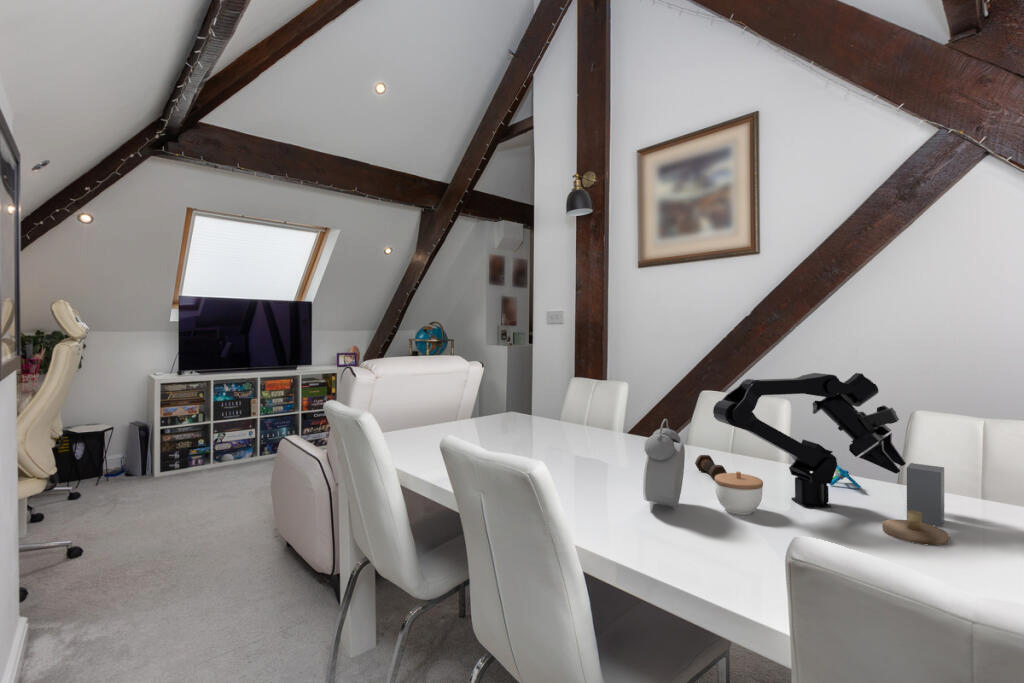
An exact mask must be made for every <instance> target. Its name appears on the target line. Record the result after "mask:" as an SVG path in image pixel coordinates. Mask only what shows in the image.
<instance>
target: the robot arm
mask: <svg viewBox="0 0 1024 683" xmlns="http://www.w3.org/2000/svg"><path fill="white" fill-rule="evenodd" d="M878 394H879V387H878V386H877V385H876V383H874V382H873V381H872V380H871V379H869V378H868V377H867V376H865V375H864V374H863V373H859V372H855V373H854V374H853V375H851V377H850V378H848V379H847V380H845V381H844V382H843V381H841V380H840V379H839V378H838V376H837V375H835V374H829V373H819V372H813V373H808V374H803V375H800V376H798V377H794V378H768V379H767V378H765V379H753V378H752V379H751V378H748V379H747V378H746V379H745V380H743V381H741V383H740V384H739V385H738V386H737V387H736V388H734V389H733V390H732V391H730V392H729V393H727V394H726V395H725V396H724V397H723V398H722V399H721V400H719V401H717V402H716V403H715V404H714V406H713V409H712V410H713V411H712V413H713V417H714V419H715V420H716V421H717V422H720V423H723V424H725V425H730V426H732V427H734V428H738V429H741V430H744V431H747V432H748V433H750V434H751V435H753V436H755V437H757V438H758V439H760V440H762V441H764V442H766V443H767V444H769V445H772V446H773V447H775V448H777V449H778V450H781V451H782V452H784V453H786V454H787V455H788V456H790V457H791V458H792V459H793V462H792V463H791V465H790V466H789V467H788V470H789V472H790V475H791V476H794V497H793V496H792V497H791V500H792V501H793V502H795V503H796V504H798V505H800V506H802V507H804V508H811V509H812V508H832V505H831V504H830V503H829V502H830V500H829V486H828V484H829V485H830V483H831V482H832V479H833V477H834V476H835V473H836V470H837V465H838V460H837V456H836V455H834V454H833V450H829V449H826V448H825V447H824V446H823V445H821V444H819V443H816V442H813V441H810V440H807V439H801V442H800V441H799V440H797V439H795V438H793V437H791V436H789V435H788V434H786V433H784V432H782V431H781V430H779V429H777V428H774V427H773V426H771V425H770V424H768V423H765V422H764V421H762V420H760V419H759V418H758V417H757V416H756V414H755V413H754V412H753V411H754V410H756V409H755V408H756V407H757V405H758V404H757V403H758V401H759V399H760V398H761V397H762V396H776V395H777V396H778V395H780V396H781V395H810V396H814V397H815V396H816V397H822V399H821V400H814V401H813V402H812V414H813V415H815V414H817V413H819V412H820V411H822V412H823V413H824V414H825V415H826V416H827V417H828V418H829V419H830V420H832V421H833V423H834V424H836V425H837V426H838V427H837V429H838V430H839V431H840V432H842V431H843V432H844V433H845V434H846V435H847V436H848V437H849V438H850V439H851V444H849V447H848V448H849V449H848V451H849V452H850V454H852V455H853V456H854V457H856V458H857V457H858V456H859V457H858V458H859V459H861V460H864V461H866V462H869V463H871V464H874V465H875V466H878V467H880V468H883V469H885V470H887V471H889V472H891V473H892V474H893V473H894V474H898V473H900V471H901V470H900V468H899V467H898V465H899V466H901V467H903V466H905V465H906V464H907V463H906V461H905V460H904V458H903V457H902V456H901V454H900V453H899V451H898V449H897V448H896V446H895V445H894V444H893V442H892V438H893V433H892V432H891V431H892V429H891V428H889V427H888V426H887V425H892V424H894V423H897V422H898V421H900V418H899V417H898V415H897V411H896V410H894V408H893V407H888V406H886V404H885V405H881V406H878V407H876V411H875V412H873V413H870V414H867V413H865V412H864V411H859V410H858V409H856V408H858V407H861V406H862V405H863V404H865V403H867V402H868V401H869V400H871V399H872V398H873V397H875V396H876V395H878ZM855 407H856V408H855ZM890 432H891V433H890ZM862 453H863V454H862ZM896 464H897V465H896Z"/></svg>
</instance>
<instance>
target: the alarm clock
mask: <svg viewBox="0 0 1024 683" xmlns="http://www.w3.org/2000/svg"><path fill="white" fill-rule="evenodd" d="M664 424H666V428H665V427H664ZM644 452H645V454H646V456H645V461H644V466H643V467H644V468H643V477H642V495H643V499H644V501H646V502H649V512H652V511H653V507H654V505H655V504H660V505H664V506H668V507H669V506H670V507H673V509H676V508H677V506H678V505H679V501H680V497H681V494H682V487H683V480H684V473H685V460H686V459H685V457H686V456H685V453H686V451H685V444H684V443H682V442H681V437H680V435H679V434H678V433H677V432H676V431H675V430H673V429H671V428H670V427H669V420H668V418H664V419H663V420H662V422H661V425H660V428H658V429H656V430H655V431H654V432H653V433H652V435H651V436H649V437H647V438H646V440H645V442H644Z"/></svg>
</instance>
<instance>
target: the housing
mask: <svg viewBox="0 0 1024 683" xmlns="http://www.w3.org/2000/svg"><path fill="white" fill-rule="evenodd" d="M909 510H912V511H918V512H921V513H922V523H925V524H929V525H932V526H933V525H935V527H938V526H939V527H938V528H942V527H943V525H942V524H944V522H945V467H944V466H939V465H938V466H936V465H929V464H921V463H915V462H910V463H909V464H908V465H907V467H906V512H907V511H909Z"/></svg>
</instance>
